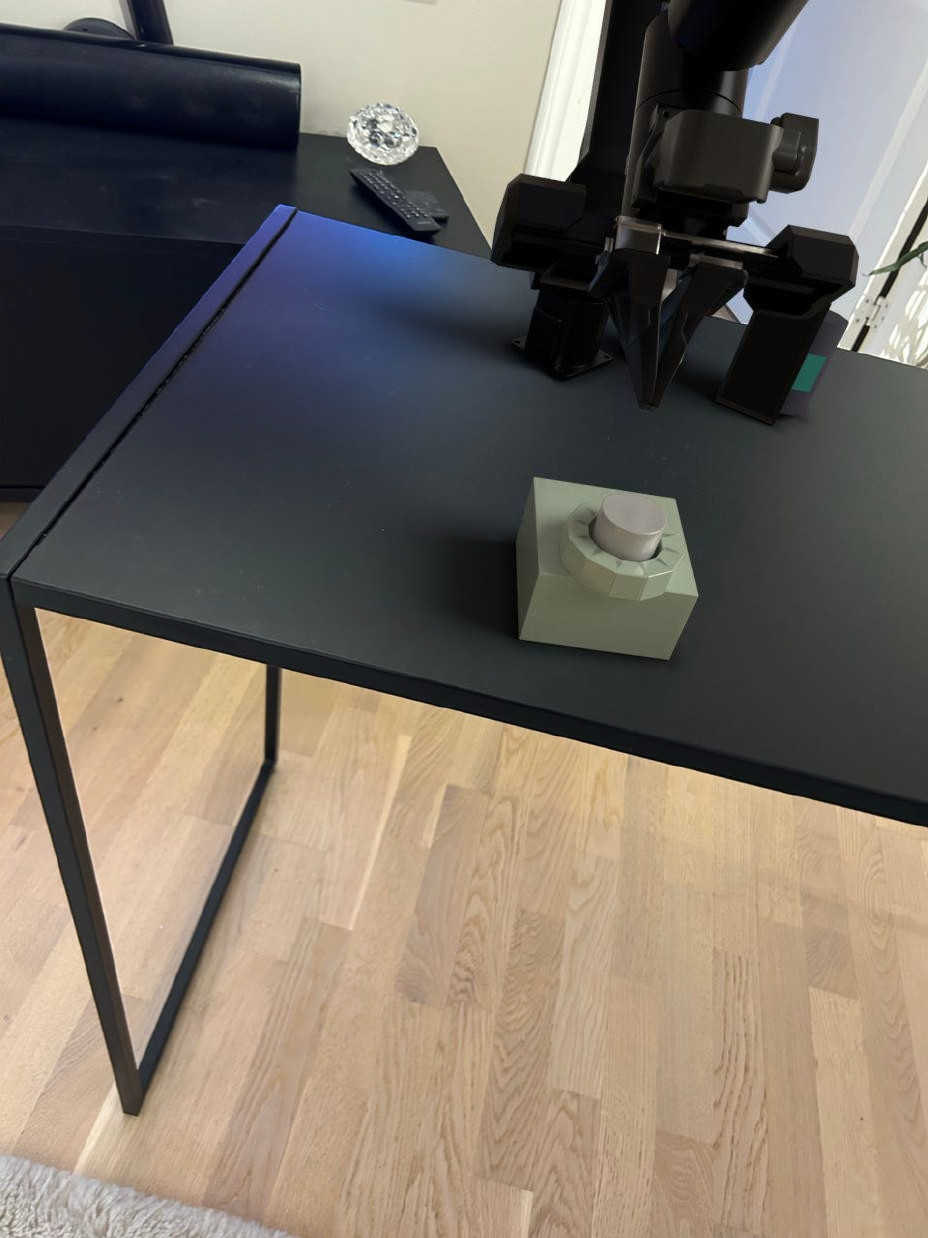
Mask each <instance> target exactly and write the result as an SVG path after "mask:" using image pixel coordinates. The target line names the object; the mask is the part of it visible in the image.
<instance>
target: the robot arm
mask: <svg viewBox="0 0 928 1238" xmlns="http://www.w3.org/2000/svg"><path fill="white" fill-rule="evenodd" d="M808 2H810V0H605V3H604V11H603V14H602V15H603V16H602V20H601V21H602V22H601V23H602V24H601V29H600V34H599V41H598V48H597V53H596V60H595V65H594V72H593V78H592V84H591V90H590V91H591V92H590V98H589V102H588V103H589V104H588V111H587V116H586V121H585V122H586V123H585V129H584V135H583V141H582V148H581V155H580V160H579V162H578V164H577V165H576V166H575V167H574V168H573V170H572V171H571V172H570V174H569V175H568V176H567V178H566V179H565V180H559V179H553V178H550V177H549V178H548V177H543V176H537V175H533V174H527V173H522V172H520V173H519V174H517V176H515V177H514V178H513V179H512V180H510V181H509V182H508V183H507V184H506V188H505V190H504V193H503V197H502V200H501V203H500V206H499V209H498V213H497V216H496V218H495V219H496V220H495V224H494V229H493V236H492V242H491V250H490V255H489V257H490V258H489V261H490V262H491V263H493V264H494V265H496V266H497V267H501V268H506V269H513V270H517V271H522V272H528V277H529V287H530V288H529V289H530V290H531V291H538V293H537V299H536V302H535V305H534V306H533V308H532V312H531V316H530V320H529V325H528V329H527V334H526V335H523V336H520V337H518V338H517V337H516V338H514V339H512V340H511V343H510V347H511V348H512V349H514V350H515V351H517V352H519V353H520V354H522V355H523V356H525V357H527V358H528V359H530V360H531V361H532V362H534V363H536V364H537V365H539V366H540V367H542V368H544V370H547V371H548V372H550V373H551V374H552V375H555V376H556V377H558V378H559V379H561V380H564V381H569V380H572V379H575V378H577V377H580V376H583V375H585V374H588V373H591V372H592V371H595V370H599V369H600V368H603V367H605V366H608V365H610V364H612V360H613V356H612V355H610V354H609V353H607V352H605V351H603V350H601V349H600V348H601V344H602V341H603V338H604V334H605V331H606V327H607V324H608V321H609V317H610V319H611V321H612V324H613V326H614V328H615V331H616V334H617V336H618V338H619V341H620V344H621V347H622V350H623V353H624V358H625V361H626V365H627V369H628V372H629V375H630V379H631V383H632V387H633V391H634V395H635V397H636V401H637V405H638V408H639V409H641V410H645V411H646V410H648V411H652V412H653V411H655V410H657V409H658V408H659V407H660V405H661V404H662V401H663V399H664V397H665V395H666V393H667V390H668V389H669V387H670V384H671V382H672V380H673V378H674V376H675V374H676V372H677V370H678V368H679V367H680V365H681V363H682V362H681V360H682V361H683V359H684V356H685V354H686V351H687V349H688V347H689V346H690V344H691V341H692V339H693V338H694V336H695V334H696V332H697V330H698V328H699V327H700V326H701V324H702V322H703V321H704V319H705V318H709V317H712V316H714V315H715V314H717V313H718V312H719V311H720V310H721V309H722V308H723V307H725V306H726V304H728V303H729V302H730V301H731V300H732V299H733V298H734V297H736V296H737V295H738V294H739V293H740V292H741V291H742V290H743V292H742V298H743V300H745V302H746V303H747V305H748V307H749V308H750V309H751V310H752V313H753V312H756V313H761V314H767V315H773V316H778V317H784V318H789V319H795V320H797V319H806V318H810V317H812V316H813V315H815V314H816V313H818V312H819V311H821V310H822V309H823V308H825V307H826V306H828V305H829V304H831V303H832V304H833V303H834V302H835V301H837V300H839V298H841V297H843V296H844V295H846V294H847V293H848V292H849V291H851V290H853V289H854V288H855V287H856V284H857V276H858V270H859V262H860V255H859V252H858V249H857V247H856V244H855V243H854V241H853V240H852V239H851V237H850V236H849V235H847V234H842V233H835V232H831V231H827V230H821V229H815V228H811V227H804V226H800V225H794V224H789V223H788V224H787V225H786V226H785V227H784V228H783V229H782V230H781V231H779V232H778V233H777V234H776V235H775V236H774V237H773V238H771V240H770V241H769V242H768V243H767V244H765V246H763V245H760V244H759V245H758V244H752V243H749V242H742V241H736V240H732V239H727V238H728V231H729V227H733V228H739V227H741V226H742V225H743V223H745V221H746V220H747V219H748V218H749V212H750V211H749V210H750V203H754V202H756V204H758V205H764V204H765V203H767V200H768V196H769V193H770V192H775V193H778V194H785V195H789V194H792V193H796V192H800V191H802V190H804V189H805V188H806V186H807V185H808V183H809V181H810V180H811V176H812V173H813V168H814V164H815V160H816V157H817V153H818V143H819V142H818V141H819V131H820V130H819V128H820V119H819V118H816V117H811V116H808V115H802V114H798V113H792V112H788V111H787V112H784V113H782V114H780V116H775V117H773V118H772V119H771V120H770V122H764V121H759V120H754V119H750V118H745V117H743V116H744V109H745V101H746V94H747V88H748V87H747V86H748V81H749V80H748V79H749V72H750V71H749V70H750V69H752V68H754V67H755V66H761V65H763V64H764V63H765V62H766V61H767V60H768V59H769V57H770V56H771V54H772V53H773V52H774V50H775V49H776V47H777V46H778V45H779V43H780V42H781V40H782V39H783V38H784V36H785V35H786V33H787V32H788V30H789V29H790V28H791V26H792V25H793V24H794V22H795V21H796V20H797V18H798V16H799V15H800V14H801V12H802V11H803V9H805V6H806V5H807V4H808ZM666 4H668V8H666V9H665V7H666ZM668 269H673V270H677V277H676V285H675V288H674V289H673V291H672V292H671V293H670V294H669V295H668V296H667V297H666V298H665V299H664V300H663V301H662V304H661V298H662V293H663V289H664V284H665V280H666V276H667V271H668ZM682 358H683V359H682ZM680 362H681V363H680ZM679 364H680V365H679Z"/></svg>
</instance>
